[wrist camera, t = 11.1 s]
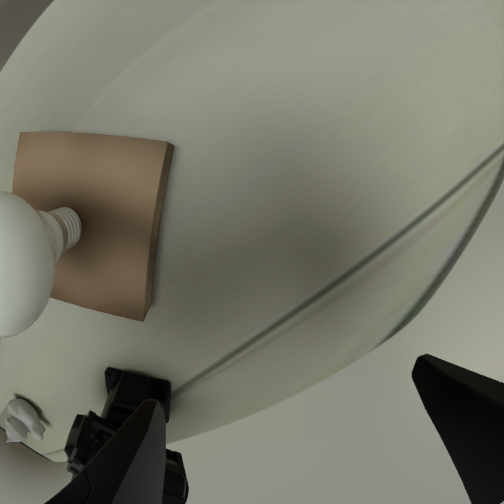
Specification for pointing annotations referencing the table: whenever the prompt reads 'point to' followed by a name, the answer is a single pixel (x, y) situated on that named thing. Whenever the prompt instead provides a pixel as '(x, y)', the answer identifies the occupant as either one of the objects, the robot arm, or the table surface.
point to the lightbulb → (30, 258)
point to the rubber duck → (22, 421)
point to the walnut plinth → (99, 212)
